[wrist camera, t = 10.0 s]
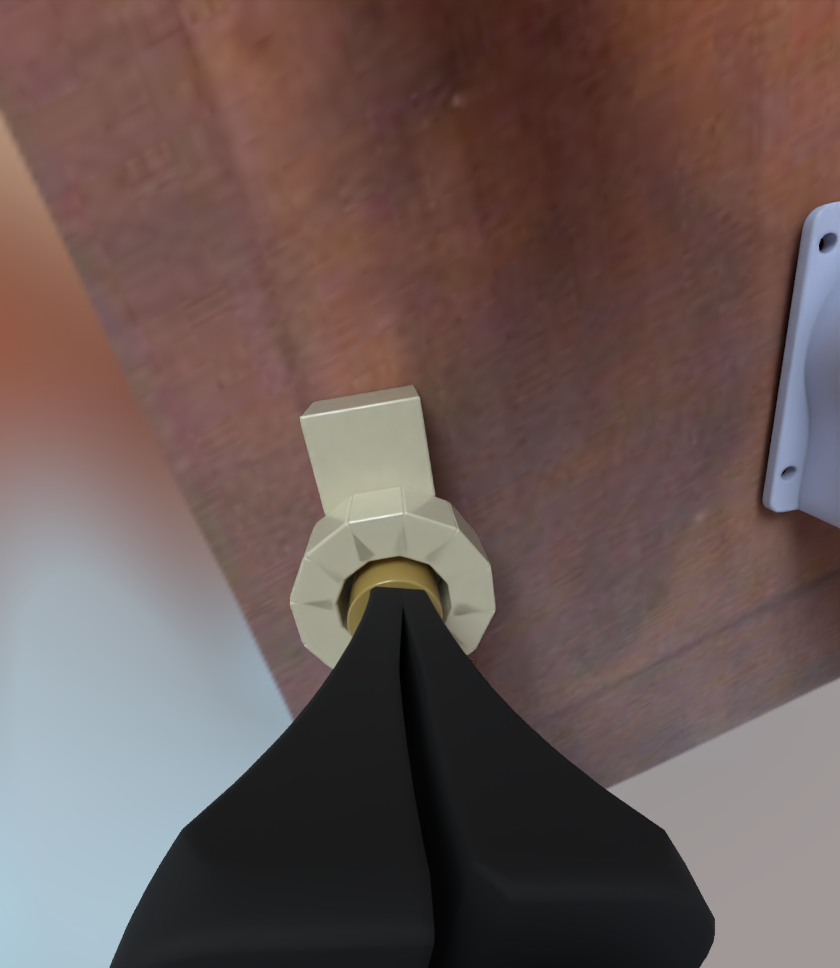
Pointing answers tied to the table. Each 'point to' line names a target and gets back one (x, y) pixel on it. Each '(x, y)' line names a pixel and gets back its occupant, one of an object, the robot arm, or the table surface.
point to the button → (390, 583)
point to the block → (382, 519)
